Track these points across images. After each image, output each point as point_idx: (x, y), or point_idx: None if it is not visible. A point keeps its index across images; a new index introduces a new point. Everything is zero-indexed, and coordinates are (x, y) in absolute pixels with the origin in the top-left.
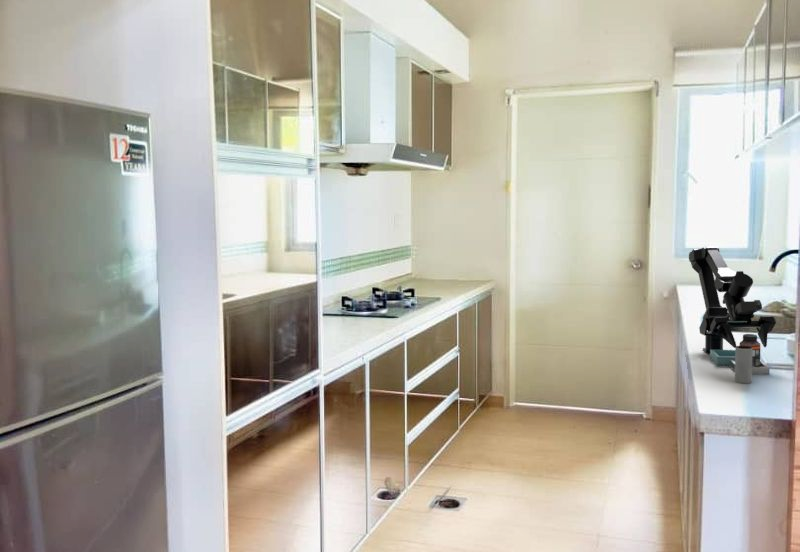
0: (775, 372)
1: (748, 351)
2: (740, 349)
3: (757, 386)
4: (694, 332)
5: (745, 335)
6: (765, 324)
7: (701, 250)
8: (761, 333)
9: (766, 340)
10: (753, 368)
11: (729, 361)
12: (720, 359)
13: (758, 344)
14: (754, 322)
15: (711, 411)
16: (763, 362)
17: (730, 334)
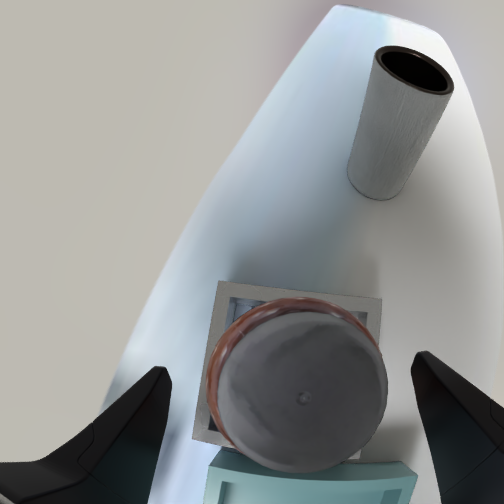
0: (179, 331)
1: (392, 56)
2: (427, 61)
3: (340, 123)
4: None
5: (371, 375)
6: (19, 486)
7: None
8: (117, 495)
9: (129, 393)
10: (299, 292)
11: (353, 471)
12: (398, 473)
13: (243, 316)
14: None
15: (433, 34)
16: (198, 401)
17: (492, 415)
